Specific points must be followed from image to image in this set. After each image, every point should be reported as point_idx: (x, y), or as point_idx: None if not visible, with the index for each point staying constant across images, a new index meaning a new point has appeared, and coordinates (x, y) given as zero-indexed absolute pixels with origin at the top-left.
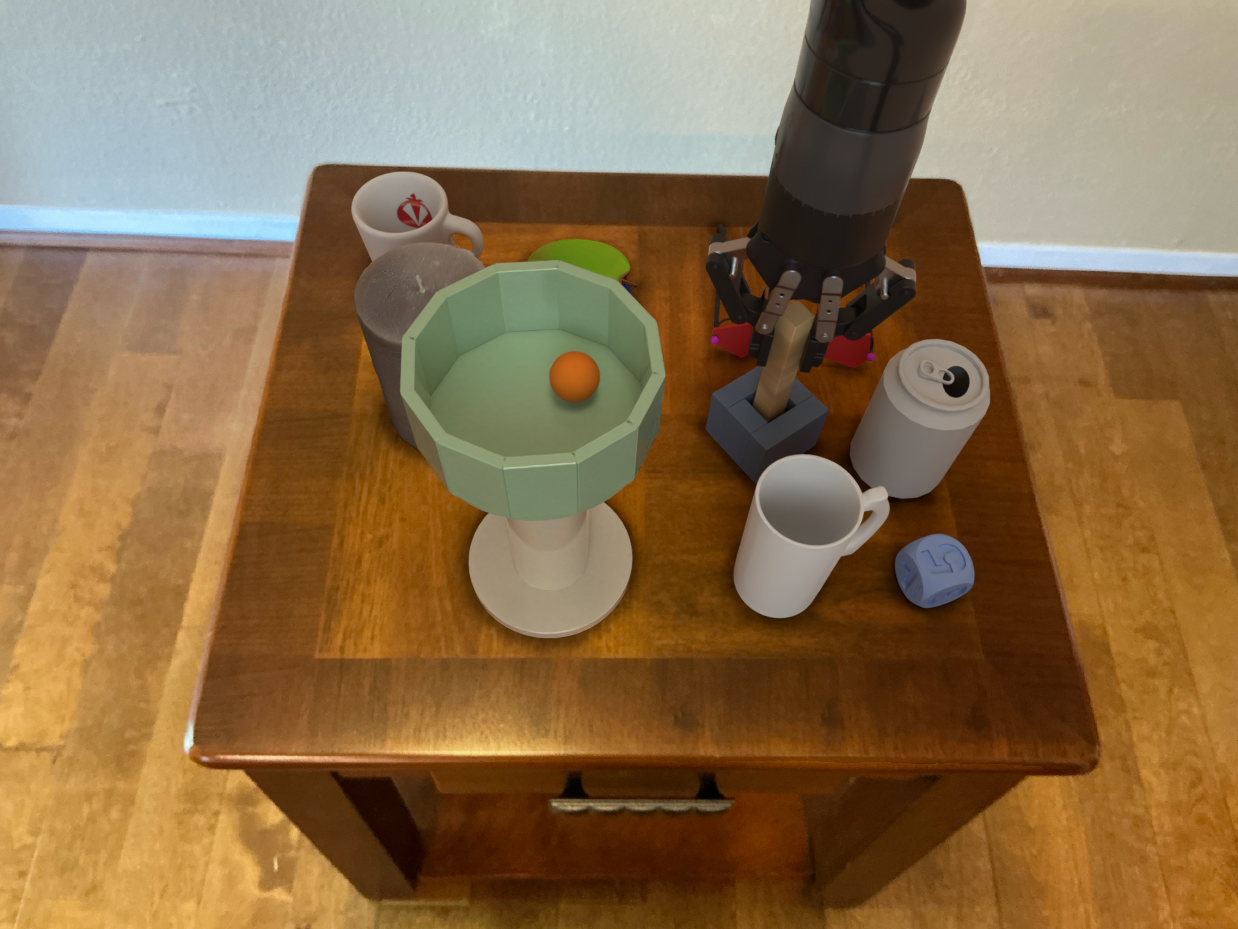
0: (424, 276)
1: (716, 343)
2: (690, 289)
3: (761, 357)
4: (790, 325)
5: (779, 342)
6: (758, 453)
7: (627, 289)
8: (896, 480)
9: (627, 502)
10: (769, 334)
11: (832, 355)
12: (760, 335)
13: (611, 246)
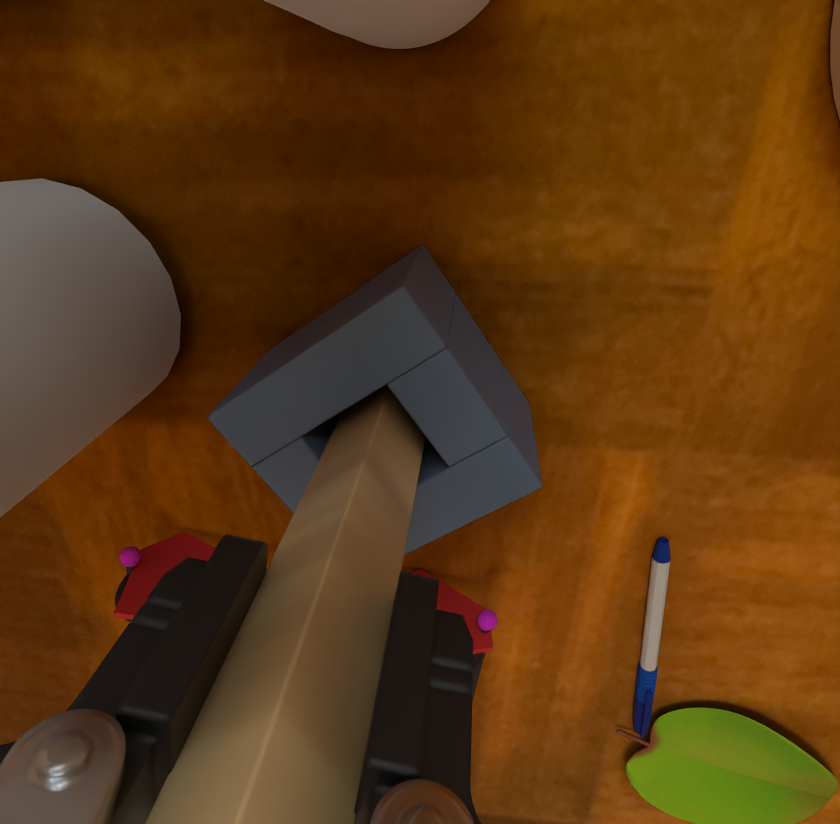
0: None
1: (484, 611)
2: (506, 710)
3: (420, 619)
4: None
5: (337, 697)
6: (422, 293)
7: (645, 727)
8: (26, 198)
9: (788, 193)
10: (389, 770)
11: None
12: (431, 749)
13: (658, 808)
